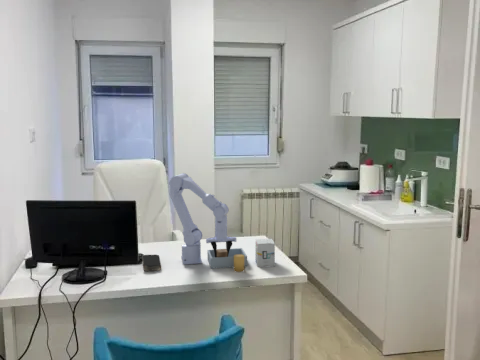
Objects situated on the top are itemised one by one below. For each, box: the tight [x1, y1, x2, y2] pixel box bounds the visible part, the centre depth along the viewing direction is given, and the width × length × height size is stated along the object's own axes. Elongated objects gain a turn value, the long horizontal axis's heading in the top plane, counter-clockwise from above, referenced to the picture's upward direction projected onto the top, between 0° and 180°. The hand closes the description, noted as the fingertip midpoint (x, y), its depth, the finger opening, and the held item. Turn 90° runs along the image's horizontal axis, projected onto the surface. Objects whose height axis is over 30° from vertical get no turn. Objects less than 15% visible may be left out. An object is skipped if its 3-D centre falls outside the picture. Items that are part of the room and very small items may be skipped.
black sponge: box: [142, 254, 162, 272], centre depth 235 cm, size 16×8×4 cm, turn 13°
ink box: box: [255, 238, 276, 268], centre depth 237 cm, size 8×8×12 cm
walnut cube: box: [217, 248, 227, 257], centre depth 236 cm, size 5×5×5 cm
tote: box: [206, 247, 248, 269], centre depth 240 cm, size 18×14×5 cm
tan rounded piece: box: [233, 254, 245, 273], centre depth 229 cm, size 5×5×7 cm
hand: (221, 256), depth 237 cm, fingers closed on walnut cube, 5 cm apart
